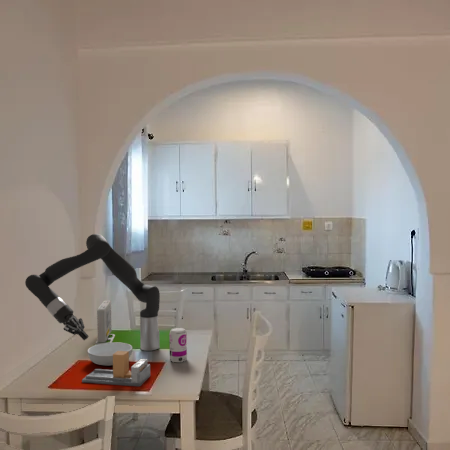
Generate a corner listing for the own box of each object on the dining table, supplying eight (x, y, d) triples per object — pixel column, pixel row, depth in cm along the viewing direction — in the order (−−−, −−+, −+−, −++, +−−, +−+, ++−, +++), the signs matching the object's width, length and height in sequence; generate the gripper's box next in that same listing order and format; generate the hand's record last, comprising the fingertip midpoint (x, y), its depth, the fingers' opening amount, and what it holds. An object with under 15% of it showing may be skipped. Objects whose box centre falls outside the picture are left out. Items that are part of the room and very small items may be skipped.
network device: (101, 333, 266) (100, 300, 265) (116, 333, 267) (115, 299, 266) (93, 346, 241) (92, 309, 240) (110, 346, 242) (109, 309, 241)
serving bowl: (87, 372, 202) (86, 357, 202) (88, 357, 222) (88, 344, 222) (134, 367, 208) (133, 353, 208) (131, 354, 228) (131, 340, 228)
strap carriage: (113, 377, 191) (112, 354, 191) (118, 373, 196) (117, 350, 196) (139, 379, 189) (139, 355, 188) (144, 375, 194) (143, 352, 193)
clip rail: (81, 382, 190) (81, 364, 190) (95, 372, 202) (95, 355, 202) (140, 386, 185) (139, 368, 185) (150, 375, 197) (150, 358, 197)
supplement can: (190, 360, 218) (189, 329, 217) (177, 364, 211) (177, 332, 211) (179, 356, 223) (178, 326, 223) (166, 360, 217) (165, 329, 217)
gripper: (62, 312, 205) (88, 340, 203) (46, 319, 192) (73, 349, 190) (73, 301, 204) (99, 328, 202) (56, 307, 191) (84, 337, 189)
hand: (86, 338), depth 196 cm, fingers closed
